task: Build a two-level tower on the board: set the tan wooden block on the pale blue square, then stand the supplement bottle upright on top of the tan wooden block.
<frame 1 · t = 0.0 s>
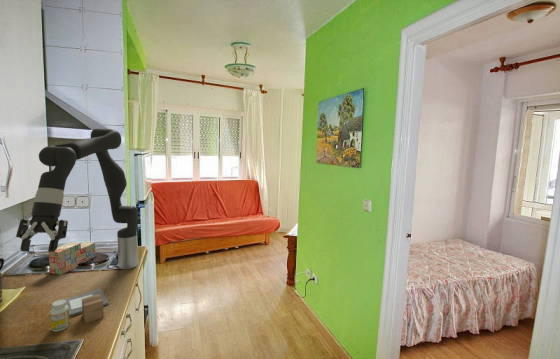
hand: (38, 251, 92), 31 cm above the worktop, tool tilted 20°, fingers open, 8 cm apart
colorful cardboard box: (74, 265, 151), on the worktop
supplement bottle: (60, 327, 102), on the worktop
blueprint board: (82, 304, 116), on the worktop
tan wooden block: (93, 316, 109), on the worktop
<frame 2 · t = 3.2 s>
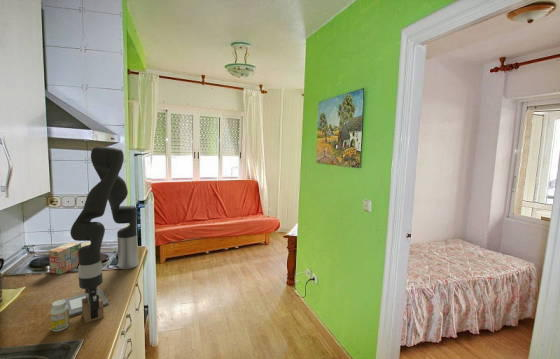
hand: (93, 313, 109), 1 cm above the worktop, tool pointing down, fingers closed on tan wooden block, 6 cm apart
tan wooden block: (93, 316, 109), on the worktop, touching gripper
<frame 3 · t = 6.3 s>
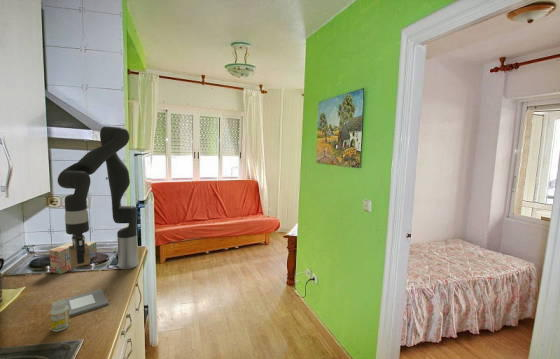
hand: (79, 260, 114), 19 cm above the worktop, tool pointing down, fingers closed on tan wooden block, 6 cm apart
tan wooden block: (79, 263, 114), point 18 cm above the worktop, touching gripper
when the fingers open (4 cm above the worktop, at t = 9.6 s): tan wooden block drops 1 cm, resting on blueprint board.
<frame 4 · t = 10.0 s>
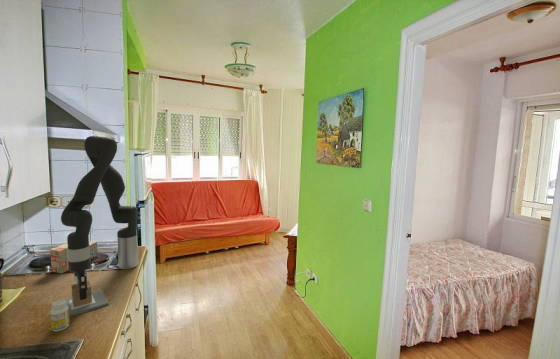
hand: (81, 294, 116), 4 cm above the worktop, tool pointing down, fingers open, 8 cm apart
tan wooden block: (82, 301, 116), point 1 cm above the worktop, touching blueprint board
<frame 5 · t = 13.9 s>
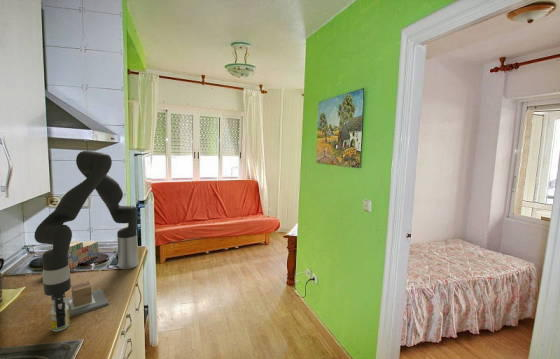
hand: (60, 321, 102), 2 cm above the worktop, tool pointing down, fingers closed on supplement bottle, 5 cm apart
supplement bottle: (60, 327, 102), on the worktop, touching gripper
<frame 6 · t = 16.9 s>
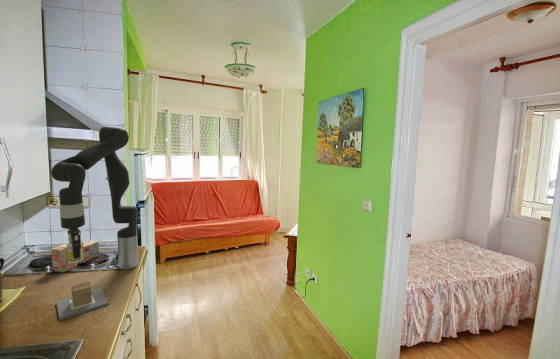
hand: (76, 255, 111), 22 cm above the worktop, tool pointing down, fingers closed on supplement bottle, 5 cm apart
supplement bottle: (76, 260, 111), point 20 cm above the worktop, touching gripper
when the fingers open (12 cm above the worktop, at t = 19.9 s): supplement bottle drops 1 cm, resting on tan wooden block.
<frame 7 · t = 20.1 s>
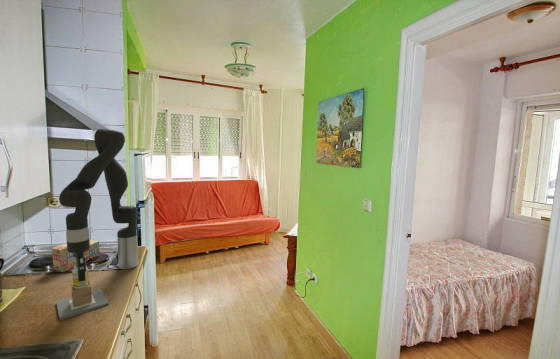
hand: (80, 277, 115), 12 cm above the worktop, tool pointing down, fingers open, 7 cm apart
supplement bottle: (81, 286, 115), point 8 cm above the worktop, touching tan wooden block
tan wooden block: (82, 301, 116), point 1 cm above the worktop, touching blueprint board, supplement bottle
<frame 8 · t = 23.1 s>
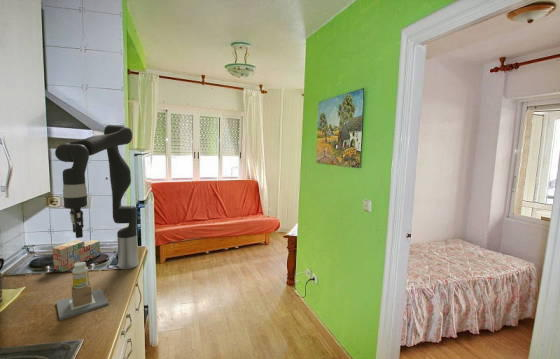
hand: (77, 234, 112), 30 cm above the worktop, tool pointing down, fingers open, 8 cm apart
at the end: tan wooden block 0.0 cm off-centre on the blueprint board, point 1.2 cm above the blueprint board's base; supplement bottle 0.0 cm off-centre on the tan wooden block, point 6.8 cm above the tan wooden block's base; supplement bottle tilted 0° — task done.
